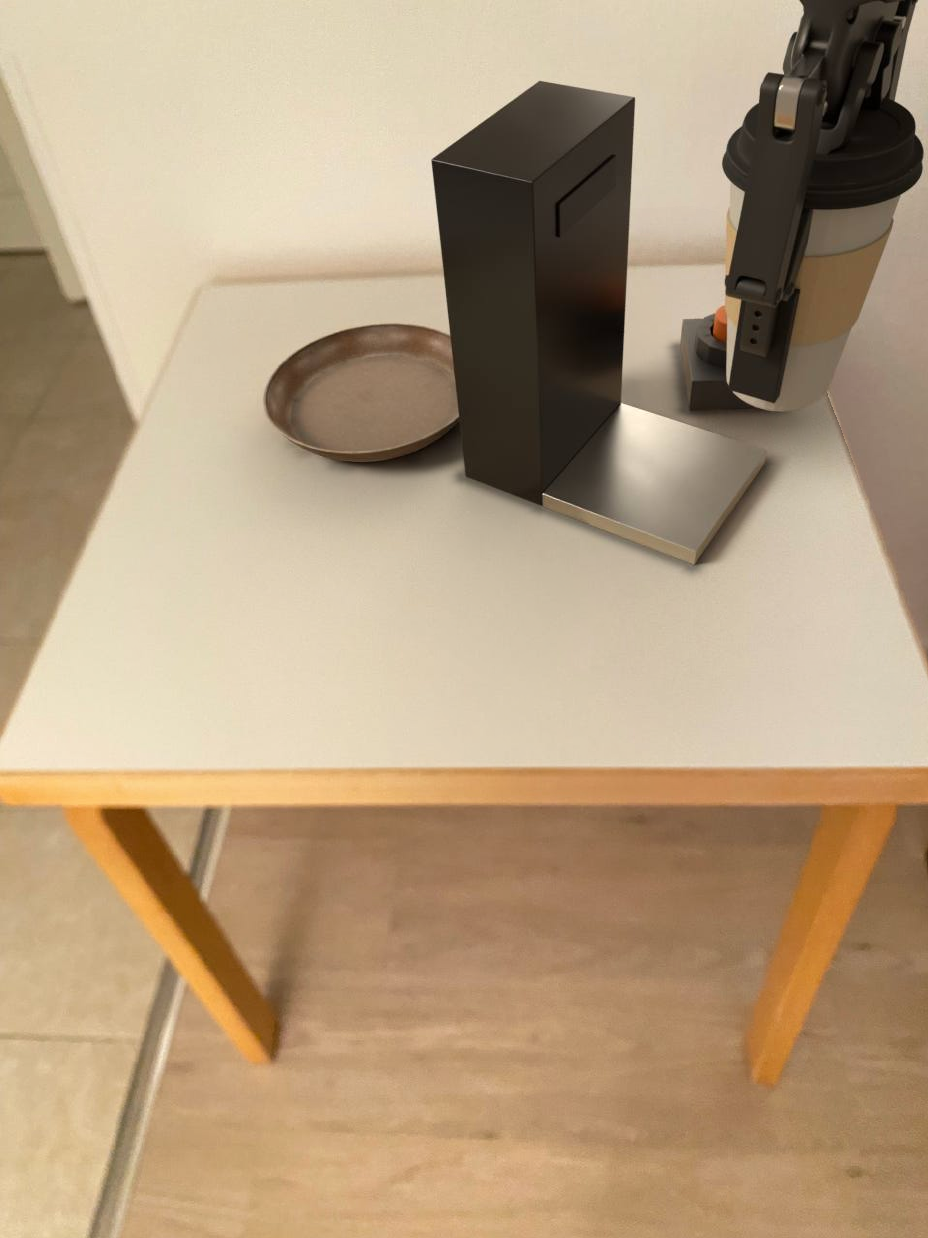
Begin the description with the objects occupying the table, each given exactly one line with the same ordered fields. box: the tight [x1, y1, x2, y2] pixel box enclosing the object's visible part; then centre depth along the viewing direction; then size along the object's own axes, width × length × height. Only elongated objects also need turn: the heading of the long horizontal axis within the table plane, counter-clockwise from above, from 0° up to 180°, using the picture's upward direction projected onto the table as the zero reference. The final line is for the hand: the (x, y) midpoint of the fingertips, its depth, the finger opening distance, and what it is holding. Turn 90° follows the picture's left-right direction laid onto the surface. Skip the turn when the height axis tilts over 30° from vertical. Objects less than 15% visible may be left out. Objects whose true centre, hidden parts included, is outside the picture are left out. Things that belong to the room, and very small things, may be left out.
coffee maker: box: [431, 80, 768, 565], centre depth 75 cm, size 22×14×28 cm, turn 56°
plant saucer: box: [262, 322, 460, 463], centre depth 92 cm, size 21×21×3 cm
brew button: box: [713, 304, 727, 343], centre depth 88 cm, size 4×4×2 cm
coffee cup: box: [721, 97, 925, 412], centre depth 52 cm, size 9×9×15 cm
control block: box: [679, 312, 758, 411], centre depth 91 cm, size 10×8×5 cm
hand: (784, 351), depth 56 cm, fingers closed on coffee cup, 8 cm apart
